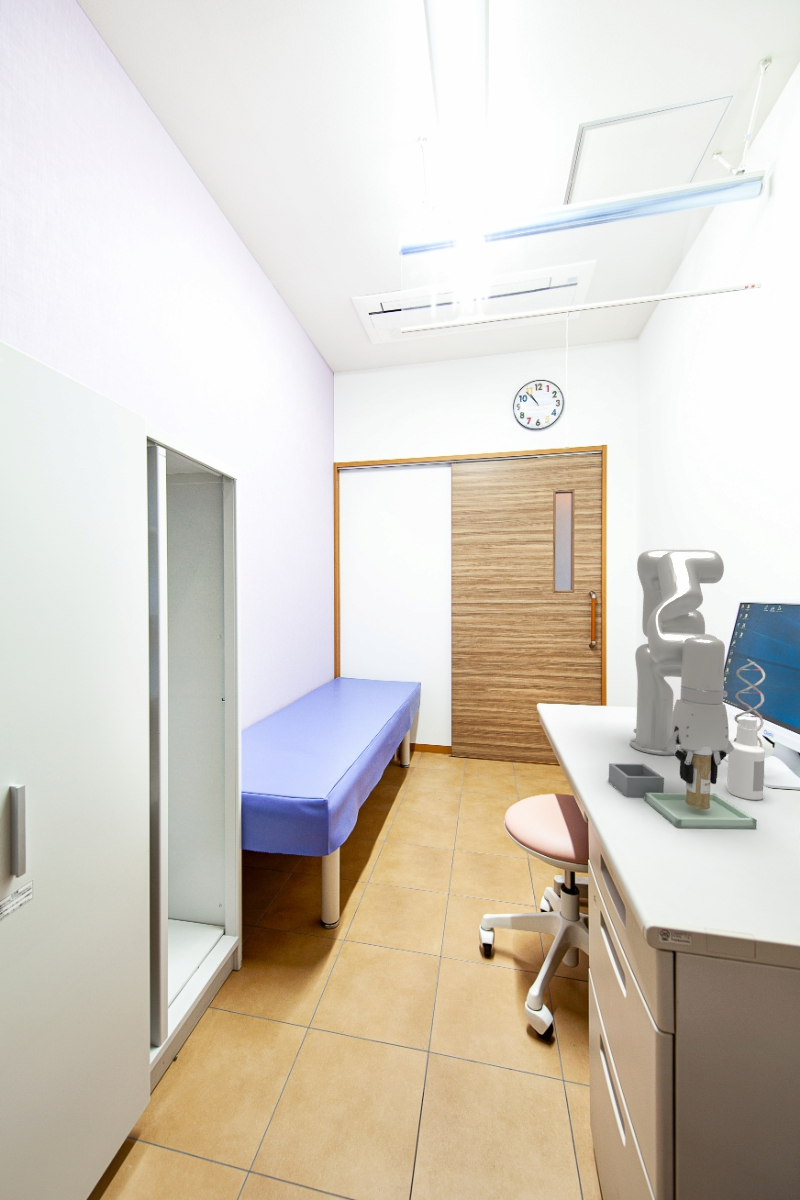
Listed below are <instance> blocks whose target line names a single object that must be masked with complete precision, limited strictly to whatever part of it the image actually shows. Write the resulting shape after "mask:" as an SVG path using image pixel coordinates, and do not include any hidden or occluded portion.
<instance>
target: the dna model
mask: <svg viewBox="0 0 800 1200" xmlns="http://www.w3.org/2000/svg"><path fill="white" fill-rule="evenodd" d="M746 661H747V662H749V663H748V664H745V665H743V666H741V667H739V668H738V669H737V670H736V673H735V674H736V677H737V678H739V679H740V680H741V681H743V682H744V683H746V685H748V687H746V688H744V689H742V690H739V691H735V692H736V693H735V695H734V697H735V699H736V700H737V701H739V703H741V704H742V705H744V706H745V707H746V708H748V710H745V711H743V712H741V713H738V714H736V715H735V716H734V721H735V722H736V723H737V724H738V723H739V716H744V715H746V714H747V715H746V716H747V717H752V718H758V719H759V720H760V724H759V726H757V729H758V732H759V731H760V730H761V729H762V728H763V726H764V724H765V723H764V719H763V715H761V714H760V713H759V712H758V711H757V709H758V708H760V707H761V706H762V705H763V703H764V702H765V695H764V693H762V691H761V690H759V689H758V688H757V686H759V685H760V684H762V683H763V682H764V680H765V679H766V673H765V671H764V669H763V668H762V667H761V666H760V665H758V664H757V663H756V661H752V660H750V659H749V658H747V659H746ZM752 665H754V666H755V668H757V669H750V668H749V669H748V668H747V667H751V666H752ZM741 671H759V672H760V673H761V675H762V678H760V680H758V681H757V682H756V683H755V684H754V683H753V684H752V683H750V682H749V681H748V680H747V679H745V678H743V677H742V676H741V675H740V672H741ZM750 689H752V690H753V691H756V692H751V694H752V695H754V694H755V695H756V694H757V695H758V694H759V695H760V702H759V703H758V704H757V705H755V706H754V707H752V706H750V705H749V704H747V702H744V701H743V700H742V699H741V698H740V697H739V695H740V694H750ZM751 712H753V713H754V714H755V715H749V713H751ZM757 738H758V742H759V743H758V744H759V746H760V747H761V748H763V741H762V739H761V737H759V736H758V735H757ZM735 741H736V737H735V738H734V739H733V742H735Z"/></svg>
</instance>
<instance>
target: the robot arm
mask: <svg viewBox="0 0 800 1200" xmlns="http://www.w3.org/2000/svg"><path fill="white" fill-rule="evenodd" d="M636 562H637V563H636V565H637V569H636V570H637V575H638V580H639V581H640V584H641V588H642V591H643V593H642V594H643V601H642V603H643V604H642V622H641V623H642V626H641V627H642V632H643V633H642V634H643V635H644V636H645V637H646V638H647V643H644V644H641V645H640V646H638V647H637V649H636V651H635V656H634V657H635V666H636V673H637V674H636V676H637V697H636V698H637V699H636V726H635V727H636V728H634V729H633V733H635V738H632V739H630V742H629V745H630V747H632V748H633V749H635V750H637V751H639V752H642V753H645V754H646V753H647V754H652V755H657V756H658V755H660V756H672V755H674V756H675V757H676V758H677V760H678V761H679V776H680V779H681V780H683V781H684V782H685V783H686V782H687V783H689V784H692V783H693V765H691V760H692V756H693V753H694V751H698V750H701V749H702V747H710V748H711V750H712V754H711V782H710V784H712V785H716V784H717V780H718V779H717V778H718V767H719V766H720V765H721V763H722V761H723V759H725V758H726V757H727V755H728V754H729V753H730V752H732V751H733V750H734V747H733V745H732V744H731V743H732V741H731V740H730V739H729V737H730V736H729V735H730V733H729V732H730V731H729V730H730V729H729V719H728V712H727V708H726V704H725V703H724V698H727V697H728V694H729V693H728V691H726V690H724V682H725V680H724V678H725V677H724V676H725V658H726V657H725V654H726V646H725V643H724V641H722V640H721V639H719V638H718V637H716V636H714V635H712V634H709V633H708V634H707V633H706V623H705V618H704V616H703V613H702V612H701V611H699V610H697V609H698V608H700V607H701V606H702V604H703V601H704V596H703V592H702V588H701V585H700V584H716V583H717V584H718V582H720V581H721V579H722V578H723V576H724V572H725V566H724V564H725V563H724V560H723V559H722V557H721V555H720V554H719V553H718V552H717V551H715V550H709V549H651V550H647V551H643V552H641V553H640V554H639V556H638V558H637V561H636ZM665 677H668V678H669V677H670V678H671V677H674V678H675V677H676V678H681V679H680V699H676V700H675V704H674V696H675V695H674V690H673V688H672V687H671V685H670V684H669V683H668V682H667V681H666V680H665ZM678 745H680V746H679V748H678V747H677V746H678Z"/></svg>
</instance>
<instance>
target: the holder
mask: <svg viewBox="0 0 800 1200" xmlns="http://www.w3.org/2000/svg"><path fill="white" fill-rule="evenodd" d="M608 782H609V783H610V784H611V785H612V787H614V786H615V787H616V788H615V787H614V788H615V789H616V790H618V791H619V793H621V792H622V793H623V794H624V795H623V794H622V793H621V794H622V795H623V796H624V797H626V798H645V793H665V777H664V776H662V775H660V774H659V773H657V772H656V771H655V770H653V769H652V768H650V767H649V766H648V765H646V764H645V763H615V762H613V763H610V762H609V764H608Z"/></svg>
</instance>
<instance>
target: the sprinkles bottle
mask: <svg viewBox="0 0 800 1200" xmlns="http://www.w3.org/2000/svg"><path fill="white" fill-rule="evenodd" d="M711 754H712V750H711V748H710V747H702V749H701V750H698V751H694V753H693V756H692V760H691V765H693V783H692V784H689V783H687V782H686V781H685V788H686V791H685V793H686V799H685V802H686V803H687V804H688V805H689V806H691V807H693V808H697V809H709V808H710V793H711Z"/></svg>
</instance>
